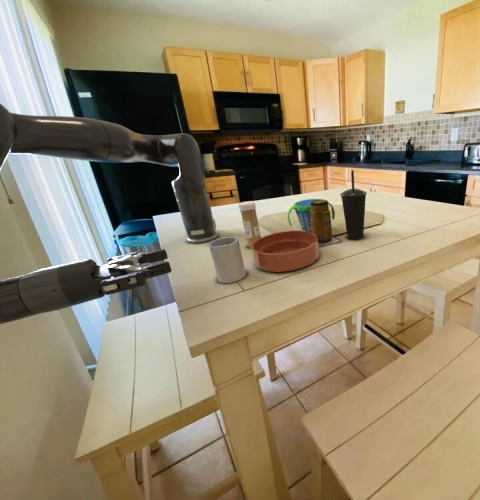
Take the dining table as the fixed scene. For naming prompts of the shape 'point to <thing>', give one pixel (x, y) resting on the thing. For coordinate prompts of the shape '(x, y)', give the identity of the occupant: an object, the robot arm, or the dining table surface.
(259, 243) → the bowl
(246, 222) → the sprinkles bottle
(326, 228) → the condiment
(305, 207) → the snack cup
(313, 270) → the dining table surface
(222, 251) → the white cup
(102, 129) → the robot arm
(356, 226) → the drinking cup
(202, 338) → the dining table surface
